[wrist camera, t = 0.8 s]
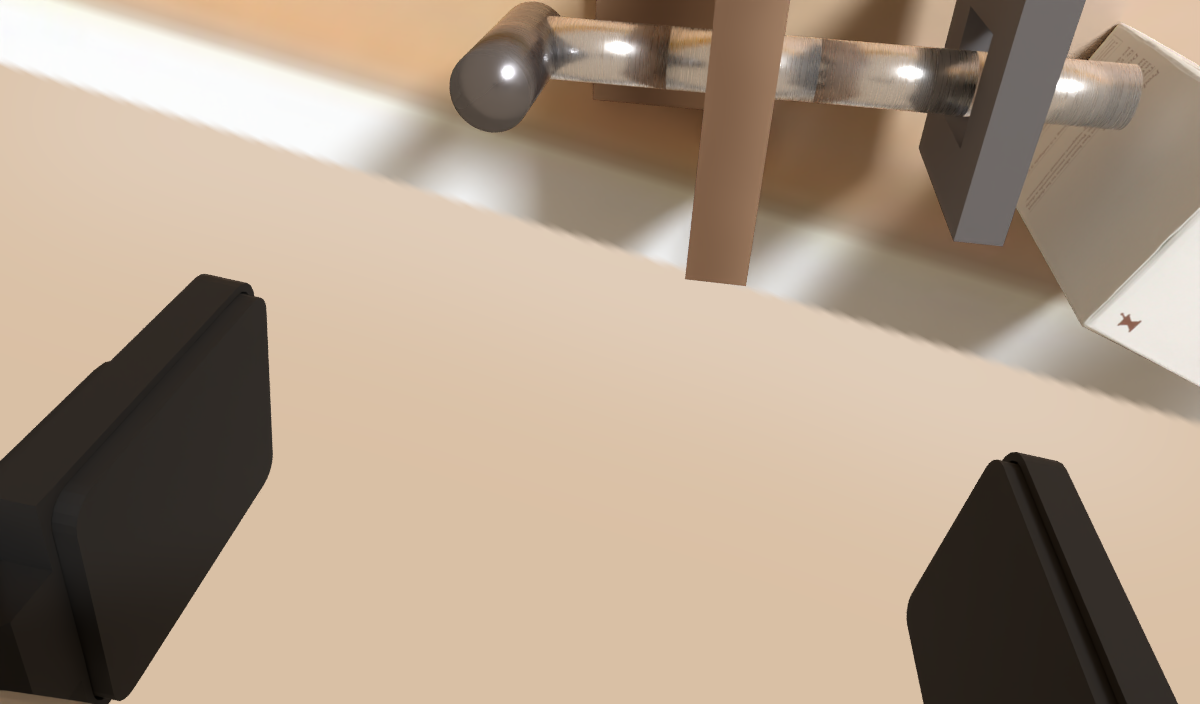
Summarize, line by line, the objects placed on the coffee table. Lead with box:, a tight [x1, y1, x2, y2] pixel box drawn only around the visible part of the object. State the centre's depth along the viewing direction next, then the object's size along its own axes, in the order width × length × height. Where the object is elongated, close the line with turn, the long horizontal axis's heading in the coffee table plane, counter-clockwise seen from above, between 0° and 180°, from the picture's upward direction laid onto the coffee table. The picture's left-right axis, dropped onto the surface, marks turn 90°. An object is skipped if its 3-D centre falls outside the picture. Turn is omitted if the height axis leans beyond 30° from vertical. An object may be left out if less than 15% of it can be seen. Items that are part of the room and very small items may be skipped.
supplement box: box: [1016, 23, 1200, 387], centre depth 31 cm, size 7×7×13 cm
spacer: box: [919, 0, 1086, 246], centre depth 29 cm, size 2×8×8 cm, turn 177°
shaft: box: [450, 2, 1143, 132], centre depth 27 cm, size 20×2×6 cm, turn 87°
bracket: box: [593, 0, 790, 286], centre depth 31 cm, size 7×12×12 cm, turn 177°
